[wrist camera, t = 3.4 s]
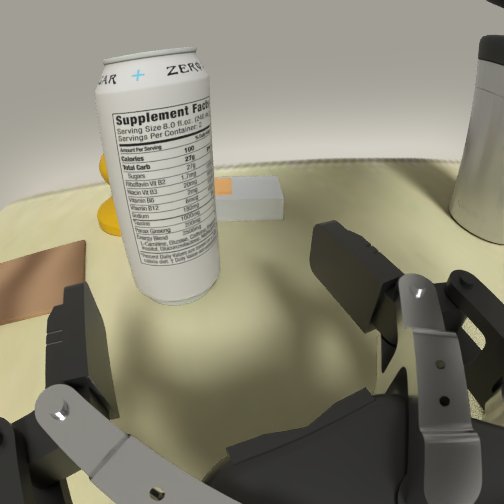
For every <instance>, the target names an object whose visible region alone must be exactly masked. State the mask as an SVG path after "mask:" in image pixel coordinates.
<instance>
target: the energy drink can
mask: <svg viewBox="0 0 504 504" xmlns="http://www.w3.org/2000/svg"><path fill="white" fill-rule="evenodd" d="M196 50H197V48H196V47H185V48H175V49H166V50H158V51H150V52H143V53H137V54H131V55H125V56H120V57H115V58H110V59H105V60H103V64H104V71H103V74H102V76H101V79H100V81H99V84H98V86H97V89H96V91H95V100H96V107H97V114H98V121H99V128H100V134H101V140H102V146H103V152H104V157H105V163H106V168H107V173H108V178H109V183H110V188H111V192H112V197H113V201H114V206H115V210H116V214H117V219H118V223H119V227H120V231H121V235H122V239H123V242H124V246H125V250H126V254H127V257H128V261H129V264H130V268H131V271H132V275H133V278H134V281H135V284H136V286H137V288H138V289H139V290H140V291H141V292H142V293H143V294H145V295H147V296H149V297H150V298H151V299H152V300H154V301H156V302H158V303H161V304H164V305H183V304H188V303H190V302H193V301H195V300H197V299H199V298H201V297H202V296H204V295H205V294H206V293H207V292H208V291H209V290H210V288H211V286H212V284H213V283H214V282H215V281H216V279H217V278H218V276H219V273H220V257H219V244H218V231H217V217H216V202H215V186H214V170H213V152H212V133H211V111H210V87H209V75H208V74H207V72H206V70H205V69H204V67H203V66H202V65H201V63H200V61H199V60H198V58H197V56H196Z"/></svg>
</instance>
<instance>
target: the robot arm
mask: <svg viewBox="0 0 504 504" xmlns="http://www.w3.org/2000/svg"><path fill="white" fill-rule="evenodd" d="M487 1H488V2H490V3H493V4H495V5H497V6H500V7H502V8H504V0H487ZM478 59H479V60H478V66H477V76H476V83H475V86H476V87H475V92H474V99H473V105H472V111H471V117H470V123H469V128H468V133H467V138H466V143H465V147H464V152H463V157H462V160H461V164H460V168H459V172H458V176H457V180H456V184H455V187H454V191H453V194H452V198H451V201H450V205H449V211H450V213H451V215H452V216H453V218H454V219H455V220H456V221H457V222H458V223H459V224H460V225H461V226H463V227H464V228H465V229H467V230H468V231H470V232H471V233H473V234H475V235H477V236H478V237H481V238H483V239H485V240H487V241H491V242H494V243H498V244H504V35H487V36H483V37H482V38H481V40H480V43H479V53H478ZM310 266H311V269H312V271H313V273H314V275H315V276H316V277H317V278H318V279H319V280H320V282H321V283H322V284H323V285H324V286H325V287H326V289H327V290H328V291H329V292H330V293H331V294H332V295H333V297H334V298H335V299H336V300H337V301H338V302H339V304H340V305H341V306H342V307H343V308H344V309H345V311H346V312H347V313H348V314H349V315H350V317H351V318H352V319H353V320H354V321H355V322H356V324H357V325H358V326H359V327H360V328H361V330H362V331H363V332H364V333H367V332H370V331H372V330H374V329H377V330H378V331H379V333H378V336H377V382H376V386H375V389H374V393H373V395H371V394H370V393H369V391H368V390H367V389H366V387H365V388H363V389H362V390H360V391H358V392H356V393H354V394H352V395H350V396H348V397H346V398H344V399H342V400H340V401H338V402H336V403H335V404H334V405H333V406H332V407H330V408H329V409H328V410H327V411H326V412H325V413H323V414H322V415H321V416H320V417H319V418H317V419H316V420H315V421H314V422H313V423H311V424H310V425H309V426H307V427H304V428H300V429H294V430H289V431H282V432H276V433H270V434H264V435H261V436H258V437H256V438H253V439H250V440H248V441H245V442H242V443H239V444H236V445H233V446H231V447H228V448H226V450H227V454H228V457H226V458H225V459H223V460H221V461H220V462H219V463H218V464H216V465H215V466H214V467H213V468H212V469H211V470H210V471H209V472H208V473H207V474H206V476H205V477H204V479H203V480H202V481H199V480H198V479H196V478H194V477H193V476H191V475H189V474H188V473H186V472H184V471H183V470H181V469H180V468H178V467H177V466H175V465H174V464H172V463H170V462H169V461H167V460H166V459H164V458H163V457H162V456H160V455H159V454H157V453H156V452H154V451H153V450H151V449H150V448H149V447H147V446H146V445H144V444H143V443H142V442H140V441H139V440H138V439H136V438H135V437H133V436H131V435H130V434H126V433H124V432H123V431H122V430H120V429H119V428H118V427H117V426H115V425H114V424H113V423H112V422H111V421H110V419H115V418H119V412H118V407H117V402H116V397H115V391H114V386H113V380H112V374H111V367H110V361H109V353H108V346H107V338H106V331H105V326H104V322H103V319H102V316H101V314H100V312H99V309H98V307H97V305H96V303H95V300H94V298H93V295H92V293H91V291H90V288H89V286H88V284H87V282H86V281H85V282H81V283H77V284H73V285H70V286H66V287H64V294H63V304H61V305H57V306H54V307H53V309H52V311H51V313H50V315H49V317H48V320H47V336H46V344H47V346H46V370H45V378H46V387H45V390H44V391H43V392H42V393H41V394H40V395H39V397H38V399H37V401H36V404H35V410H34V411H33V412H31V413H30V414H28V415H26V416H24V417H23V418H21V419H19V420H17V421H15V422H13V423H12V424H10V423H9V422H8V421H7V420H5V419H4V418H1V417H0V504H73V503H72V500H71V496H70V492H69V488H68V484H67V480H66V477H68V476H70V475H72V474H74V473H76V472H77V471H79V470H81V469H82V470H83V471H84V472H85V473H86V474H87V475H88V476H89V479H90V480H91V482H92V483H93V484H94V485H95V486H96V487H97V488H99V489H100V490H101V491H102V492H103V493H104V494H105V495H107V496H108V497H109V498H110V499H111V500H112V501H114V502H115V503H116V504H504V304H503V303H502V302H501V301H500V300H499V299H498V298H497V297H496V296H495V295H494V294H493V293H492V292H491V291H490V290H489V289H488V288H487V287H486V286H485V285H484V284H483V283H482V282H480V281H479V280H478V279H477V278H476V277H475V276H474V275H472V274H471V273H469V272H467V271H464V270H455V271H453V272H451V274H450V276H449V278H448V281H447V282H445V283H435V284H433V283H432V282H431V281H430V280H428V279H427V278H425V277H423V276H421V275H418V274H406V275H405V274H404V273H402V272H401V271H400V270H399V269H398V268H397V267H396V266H395V265H394V264H393V263H391V262H390V261H389V260H388V259H387V258H386V257H385V256H384V255H382V254H381V253H380V252H378V250H377V249H376V248H375V247H373V246H371V244H370V243H369V242H368V241H366V240H365V239H364V238H363V237H362V236H360V235H358V234H356V233H354V232H352V231H349V230H347V229H345V228H344V227H343V226H342V225H341V224H340V223H338V222H337V221H335V220H333V221H329V222H324V223H320V224H317V225H315V226H314V229H313V236H312V244H311V252H310ZM467 317H468V318H469V319H470V320H471V321H472V322H473V323H474V325H475V326H476V327H477V328H478V329H479V330H480V331H481V332H482V333H483V335H484V337H485V340H486V344H485V347H484V348H483V350H481V349H480V348H479V347H478V346H477V344H476V343H475V342H474V341H473V340H472V339H471V338H470V336H469V335H468V334H467V333H466V332H465V331H464V330H463V329H462V325H463V323H464V322H465V320H466V318H467ZM467 388H468V390H469V391H470V392H471V394H472V395H473V396H474V398H475V399H476V400H477V402H478V403H479V404H480V406H481V407H482V408H483V410H484V411H485V414H486V415H485V416H484V417H483V418H482V421H481V420H478V419H474V418H471V414H470V405H469V398H468V391H467Z"/></svg>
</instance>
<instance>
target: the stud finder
mask: <svg viewBox="0 0 504 504" xmlns="http://www.w3.org/2000/svg"><path fill="white" fill-rule="evenodd" d="M214 186H215V202H216V217H217V222H219V221H250V220H283V211H284V196H283V193H282V190H281V186H280V183H279V180H278V176H232V177H214Z"/></svg>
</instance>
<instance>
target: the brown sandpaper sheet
mask: <svg viewBox="0 0 504 504" xmlns="http://www.w3.org/2000/svg"><path fill="white" fill-rule="evenodd" d="M85 245H86V243H85V240H81V241H77V242H74V243H70V244H66V245H62V246H59V247H55V248H52V249H48V250H44V251H41V252H37V253H34V254H31V255H27V256H24V257H20V258H17V259H14V260H10V261H7V262H4V263H0V325H3V324H7V323H11V322H15V321H19V320H23V319H28V318H32V317H36V316H40V315H44V314H48V313H51V311H52V309H53V307H54V306H57V305H61V304H63V294H64V287H66V286H70V285H73V284H77V283H81V282H85Z"/></svg>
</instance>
